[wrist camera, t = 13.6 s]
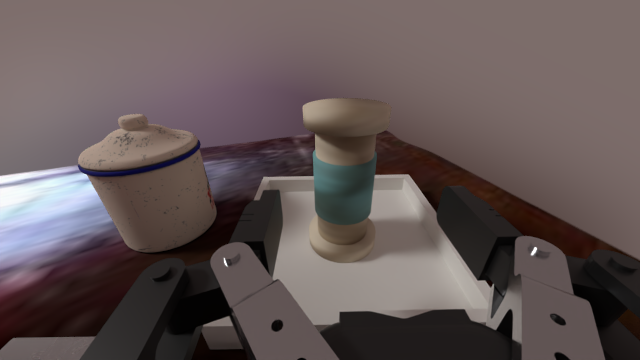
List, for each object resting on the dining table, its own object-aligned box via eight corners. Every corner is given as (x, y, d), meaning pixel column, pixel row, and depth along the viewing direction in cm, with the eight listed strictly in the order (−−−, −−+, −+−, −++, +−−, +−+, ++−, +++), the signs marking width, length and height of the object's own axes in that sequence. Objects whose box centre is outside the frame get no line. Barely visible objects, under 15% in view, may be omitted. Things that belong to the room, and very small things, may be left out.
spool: (308, 263, 19) (299, 117, 14) (310, 218, 25) (304, 98, 19) (381, 262, 19) (403, 115, 14) (367, 217, 25) (379, 97, 19)
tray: (210, 349, 15) (199, 326, 13) (266, 194, 30) (263, 177, 29) (499, 345, 15) (514, 321, 13) (405, 191, 30) (408, 174, 29)
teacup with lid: (237, 214, 27) (212, 110, 21) (153, 271, 20) (84, 141, 14) (176, 188, 32) (143, 99, 27) (94, 226, 25) (27, 118, 20)
